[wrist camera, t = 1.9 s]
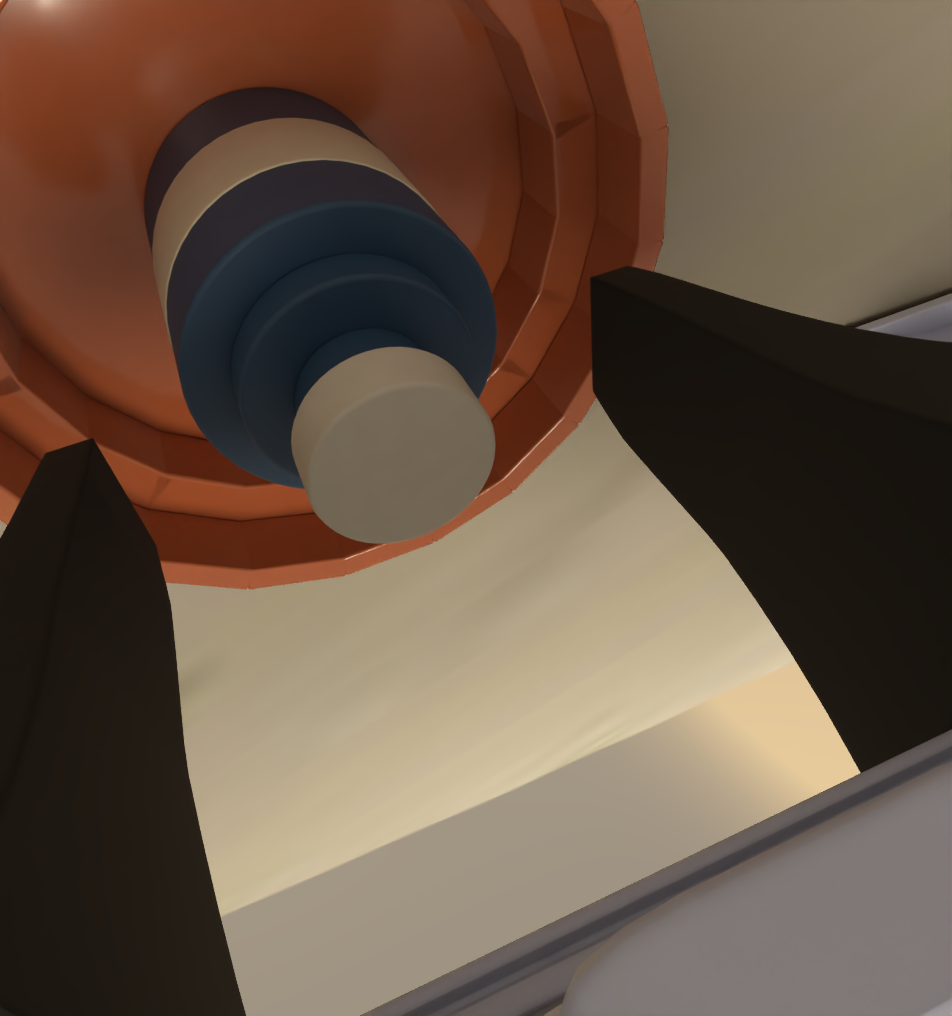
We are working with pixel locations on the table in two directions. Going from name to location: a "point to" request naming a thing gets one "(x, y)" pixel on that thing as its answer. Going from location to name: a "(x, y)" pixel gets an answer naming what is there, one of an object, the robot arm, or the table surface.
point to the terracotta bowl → (393, 130)
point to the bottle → (322, 314)
